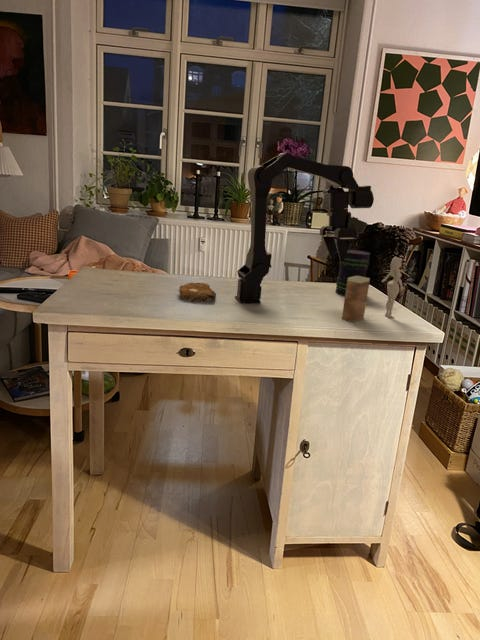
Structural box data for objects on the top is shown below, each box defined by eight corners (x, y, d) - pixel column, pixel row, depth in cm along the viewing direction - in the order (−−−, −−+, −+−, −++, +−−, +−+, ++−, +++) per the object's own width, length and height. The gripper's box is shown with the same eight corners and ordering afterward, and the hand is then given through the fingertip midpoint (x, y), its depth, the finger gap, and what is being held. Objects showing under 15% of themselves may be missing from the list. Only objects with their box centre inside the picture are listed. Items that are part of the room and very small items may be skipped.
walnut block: (341, 318, 144) (347, 277, 141) (350, 315, 149) (357, 275, 146) (354, 322, 142) (361, 280, 139) (363, 318, 147) (370, 278, 143)
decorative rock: (176, 291, 160) (180, 306, 147) (176, 279, 159) (180, 292, 145) (211, 291, 163) (219, 305, 149) (212, 279, 161) (219, 291, 148)
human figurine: (403, 322, 146) (414, 261, 141) (391, 322, 145) (402, 260, 140) (383, 311, 157) (393, 254, 152) (372, 311, 156) (382, 253, 151)
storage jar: (369, 296, 177) (376, 253, 172) (350, 298, 171) (357, 254, 166) (347, 289, 184) (353, 248, 180) (329, 291, 178) (335, 249, 174)
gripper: (376, 208, 146) (374, 262, 149) (352, 208, 164) (351, 256, 167) (339, 208, 144) (337, 263, 148) (319, 208, 162) (318, 257, 166)
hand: (337, 260), depth 157 cm, fingers open, 9 cm apart
